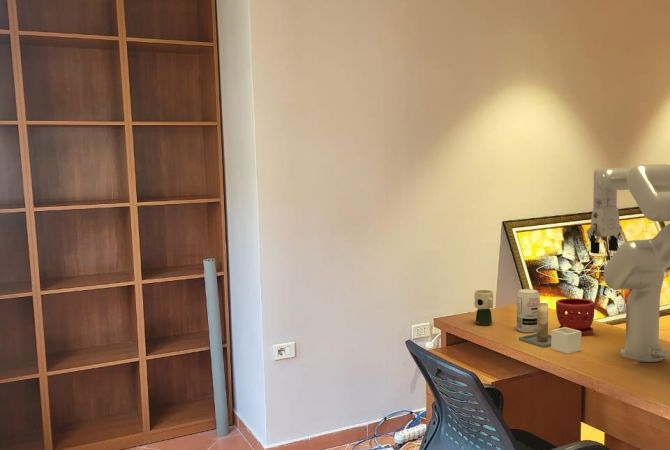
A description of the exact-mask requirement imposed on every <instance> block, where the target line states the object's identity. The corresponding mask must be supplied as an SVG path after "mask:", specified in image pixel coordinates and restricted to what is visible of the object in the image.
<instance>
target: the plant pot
mask: <svg viewBox="0 0 670 450" xmlns="http://www.w3.org/2000/svg"><path fill="white" fill-rule="evenodd" d="M555 310H556V311H555V312H556V317H557V320H558V323H559V325H560V326H559V327H558V329H559V328H563V327H567V328H571V329H574V330H578V331H581V337H582V336H589V335H590V334H592V333H593V332H594V329H593V327H591V326H592V324H593V322H594V318H595V302H594V301H593V300H590V299H587V298H577V297H575V298H573V297H572V298H570V297H569V298H568V297H567V298H561V299H557V300H556V301H555Z"/></svg>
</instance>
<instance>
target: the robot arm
mask: <svg viewBox="0 0 670 450" xmlns="http://www.w3.org/2000/svg"><path fill="white" fill-rule="evenodd" d="M618 191H629V192H630V194H631V196H632V198H633V199H634V201H635V203H636V204H637V206H638V207H639V210H640V211H641V213H642V214H643V216H644V217H645V218H646V219H648V220H649V221H652V222H670V164H665V163H661V164H660V163H659V164H656V163H655V164H638V165H634V166H633V167H605V168H604V167H600V168H596V169H594V171H593V197H592V198H593V204H592V205H593V207H592V211H591V217H590V218H591V220H590V227H588V229H587V230H586V234H587V238H588V240H589V243H590V254H595V255H599V254H600V242H599V241H600V239H601V237H603V238H604V237H609V239H608V251H612V252H614V254H613V255H612V256H611V258H609V260H608V262H607V263H606V265H605V267H604V271H603V280H604V283H605V284H606V286H607V287H609V288H610V289H611V290H615V291H623V290H624V291H625V290H630V293H629V294H628V296H627V298H626V305H625V306H626V307H625V343H624V344H625V346H624V348H621V349H620V350H619V355H621V356H622V357H623V358H627V359H630V360H635V361H638V362H641V363H655V362H656V363H658V362H661V361H663V360H664V359H666V360H668V358H669V356H670V351H669V350H664V349H663V348H662V347H663V345H662V344H660V342H659V341H660V340H659V338H660V307H661V293H662V288H663V284H664V280H665V270H667V269H668V268H670V223H668V224H666V225H665V226H663V227H662V228H661V229H660V230H659V231H658V232H657V234H656V235H655V236H654V237H653V238H650V239H649V238H648V239H634V240H628V241H625V242H623V243H622V244H621V245H620V246H619V244H618V242H619V240H620V235H621V231H622V226H621V225H620V224H621V223H620V213H619V208H618V206H617V205H618V204H617V202H618V201H617V200H618V199H617V198H618V194H617V193H618ZM618 246H619V247H618Z"/></svg>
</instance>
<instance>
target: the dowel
mask: <svg viewBox="0 0 670 450" xmlns="http://www.w3.org/2000/svg"><path fill="white" fill-rule="evenodd" d="M536 333H537V341H538V342H548V335H549V304H548V303H546V302H540V303H537V332H536Z"/></svg>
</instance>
